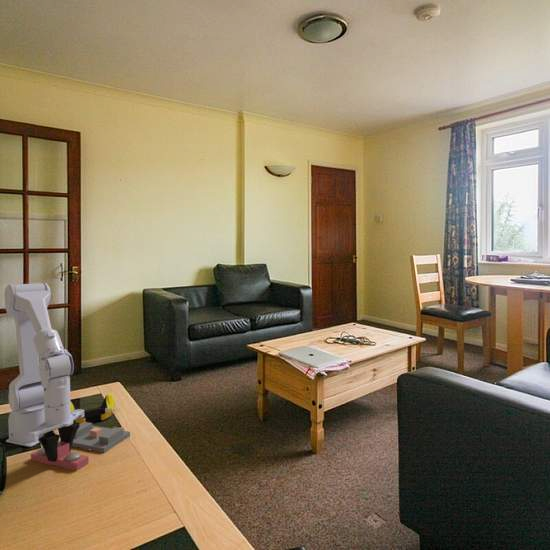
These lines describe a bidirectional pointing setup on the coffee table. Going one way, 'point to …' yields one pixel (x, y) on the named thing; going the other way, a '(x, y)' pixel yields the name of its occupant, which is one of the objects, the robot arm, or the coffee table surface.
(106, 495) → the coffee table surface
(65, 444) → the frame bar
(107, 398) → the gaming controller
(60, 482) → the coffee table surface
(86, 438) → the display stand
